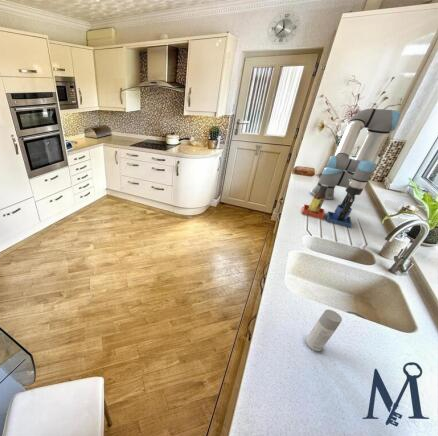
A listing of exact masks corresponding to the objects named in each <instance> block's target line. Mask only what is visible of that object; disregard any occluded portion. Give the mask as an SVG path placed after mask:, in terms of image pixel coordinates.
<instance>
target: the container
mask: <svg viewBox="0 0 438 436" xmlns="http://www.w3.org/2000/svg"><path fill="white" fill-rule="evenodd" d="M342 322H343V318H342V316H341V315H340V314H339V313H338V312H336V310H335V311H334V310H333V309H325V310H324V311H323V313H322V314H321V315H320V317H319V318H318V320H317V321H316V323H314V325H313V328H312V329H311V331H310V332H309V334H308V335H307V337H306V338H305V345H306V346H307V347H308V348H309V349H310V350H312V351H313V352H317V353H318V352H321V351H322V350H323V348H324V347H325V346H326V344H327V343H328V341H329V340H330V339H331V337H332V336H333V335H334V333H335V332H336V330H337V329H338V327H339V326H340V324H341V323H342Z"/></svg>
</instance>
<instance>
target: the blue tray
mask: <svg viewBox="0 0 438 436" xmlns="http://www.w3.org/2000/svg"><path fill="white" fill-rule="evenodd" d="M333 213H334V211H327V213H326V222H327V223H331V224H335V225H338V226H342V227H346V228H351V227H352V226H353V224H352V223H353V222H352V219H351V216H350V215H349V217H348V218H347V220H346V222H342V221H338V220H334V219H332V215H333Z"/></svg>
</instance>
